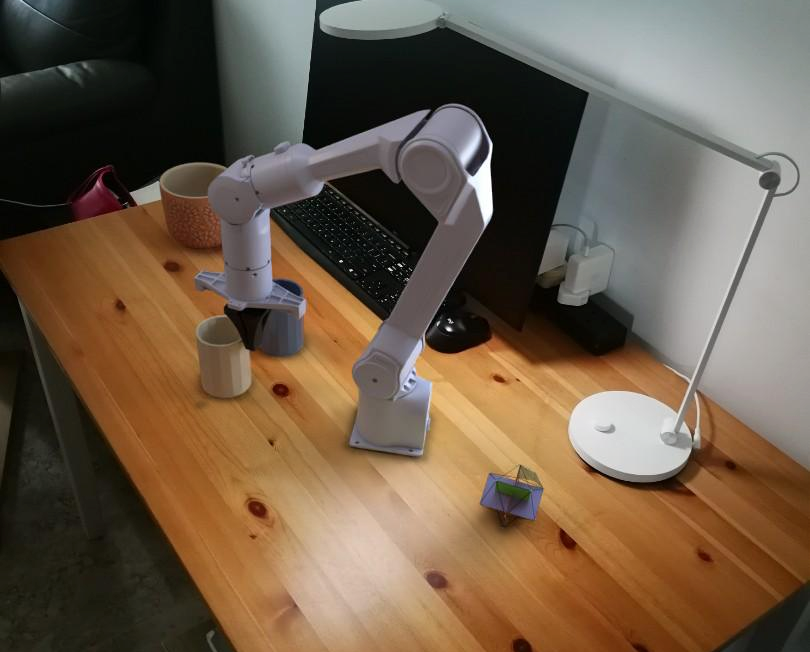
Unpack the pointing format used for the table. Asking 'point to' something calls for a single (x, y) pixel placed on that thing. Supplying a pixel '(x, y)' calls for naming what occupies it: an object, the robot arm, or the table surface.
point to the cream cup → (222, 358)
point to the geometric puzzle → (513, 494)
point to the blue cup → (283, 327)
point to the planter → (191, 204)
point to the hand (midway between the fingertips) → (253, 345)
